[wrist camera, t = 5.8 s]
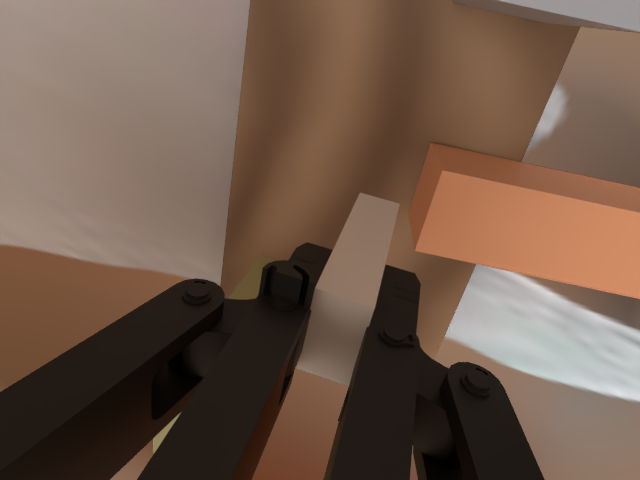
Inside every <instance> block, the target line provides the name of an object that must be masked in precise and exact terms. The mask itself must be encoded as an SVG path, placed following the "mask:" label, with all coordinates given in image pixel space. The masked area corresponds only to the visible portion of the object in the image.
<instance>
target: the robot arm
mask: <svg viewBox="0 0 640 480" xmlns="http://www.w3.org/2000/svg"><path fill="white" fill-rule="evenodd" d="M399 205H400V204H399V203H395V202H392V201H388V200H385V199H381V198H378V197H374V196H371V195H367V194H363V193H360V194H359V196H358V198H357V200H356V202H355V204H354V207H353V209H352V211H351V213H350V215H349V217H348V219H347V221H346V223H345V226H344V228H343V230H342V232H341V234H340V236H339V238H338V240H337V243H336V245H335V247H334V249H333V250H332V249H328V248H325V247H322V246H318V245H315V244H312V243H308V242H306V243H304V244H302V245H300V246H298V247H297V248H296V249H295V250H294V252H293V254H292V255H291V258H289V260H288V261H287V260H279V261H273V262H270V263H268V264H266V265H265V266H264V267H263V269H262V275H261V282H260V288H259V294H258V296H257V297H256V298H255V299H248V300H239V299H228V298H225V293H224V291H223V289H222V288H221V287H220V286H219V285H217V284H216V283H214V282H211V281H208V280H204V279H190V280H185V281H182V282H180V283H177V284H176V285H174V286H172V287H171V288H169V289H167V290H166V291H164V292H162V293H161V294H159V295H157V296H156V297H154V298H153V299H151V300H149V301H148V302H146V303H144V304H143V305H141V306H140V307H138V308H136V309H135V310H133V311H132V312H130V313H128V314H127V315H125V316H123V317H122V318H120V319H118V320H117V321H115V322H114V323H112V324H110V325H109V326H107V327H105V328H104V329H102V330H101V331H99V332H97V333H96V334H94V335H92V336H91V337H89V338H88V339H86V340H84V341H83V342H81V343H79V344H78V345H76V346H74V347H73V348H71V349H70V350H68V351H66V352H65V353H63V354H61V355H60V356H58V357H57V358H55V359H53V360H52V361H50V362H49V363H47V364H45V365H44V366H42V367H40V368H39V369H37V370H36V371H34V372H32V373H31V374H29V375H27V376H26V377H24V378H22V379H21V380H19V381H17V382H16V383H14V384H13V385H11V386H9V387H8V388H6V389H4V390H3V391H2V392H0V480H110V479H111V478H112V477H113V476H114V475H115V474H116V473H117V472H118V471H119V470H120V469H121V468H122V467H123V466H125V465H126V464H127V463H128V462H129V461H130V460H131V459H132V458H133V457H134V456H135V455H136V454H137V453H138V452H139V451H140V450H141V449H142V448H144V446H146V445H147V444H148V443H149V442H150V441H151V440H152V439H153V438H154V437H155V436H156V435H157V434H158V433H159V432H160V431H162V430H163V429H164V428H165V427H166V426H167V425H168V424H169V423H170V422H171V421H172V420H173V419H174V418H175V417H176V416H177V415H178V414H179V413H180V415H179V416H178V418H177V419H176V421H175V422H174V424H173V426H172V427H171V429H170V430H169V432H168V433H167V435H166V436H165V438H164V439H163V441H162V442H161V444H160V445H159V447H158V448H157V450H156V451H155V453H154V455H153V456H152V458H151V459H150V461H149V462H148V464H147V465H146V467H145V468H144V470H143V471H142V473H141V474H140V476H139V477H138V479H137V480H252V478H253V475H254V473H255V470H256V468H257V466H258V463H259V461H260V458H261V456H262V453H263V451H264V448H265V446H266V444H267V441H268V439H269V436H270V434H271V431H272V429H273V427H274V424H275V422H276V419H277V417H278V414H279V412H280V410H281V407H282V405H283V402H284V400H285V397H286V395H287V393H288V390H289V388H290V385H291V382H292V378H293V373H294V369H295V367H296V365H297V369H299V370H302V371H305V372H307V373H311V374H314V375H316V376H319V377H323V378H325V379H329V380H331V381H335V382H337V383H340V384H343V385H346V386H349V388H348V391H347V394H346V397H345V400H344V404H343V407H342V410H341V413H340V416H339V419H338V421H339V423H338V427H337V430H336V434H335V438H334V442H333V446H332V450H331V453H330V457H329V461H328V465H327V468H326V472H325V476H324V480H410V467H411V455H412V445H413V447H414V448H413V454H414V460H415V465H416V470H417V476H418V480H544V477H543V475H542V473H541V471H540V469H539V466H538V464H537V462H536V459H535V457H534V455H533V453H532V450H531V448H530V446H529V443H528V441H527V439H526V437H525V434H524V432H523V430H522V428H521V425H520V423H519V421H518V418H517V416H516V414H515V412H514V409H513V407H512V405H511V403H510V400H509V398H508V396H507V393H506V391H505V389H504V387H503V386H502V384H501V383H500V381H499V380H498V379H497V378H496V377H495V376H494V375H493V374H492V373H491V372H490V371H488V370H486V369H484V368H483V367H481V366H479V365H476V364H472V363H469V362H458V363H456V364H454V365H451V367H450V368H449V369H448V368H447V367H445V366H443V365H441V364H440V363H438V362H436V361H435V360H433V359H432V358H430V357H429V356H428V355H427V354H426V353H425V352H424V351H423V350H422V348H421V347H420V342H419V338H418V336H417V335H416V332H417V321H418V310H419V299H420V296H419V295H420V288H421V283H420V282H419V280H418V278H417V276H416V274H415V273H413V272H409V271H406V270H403V269H399V268H396V267H393V266H389V265H386V259H387V255H388V251H389V247H390V243H391V238H392V234H393V230H394V226H395V222H396V217H397V213H398V209H399ZM297 362H298V364H297Z"/></svg>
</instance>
